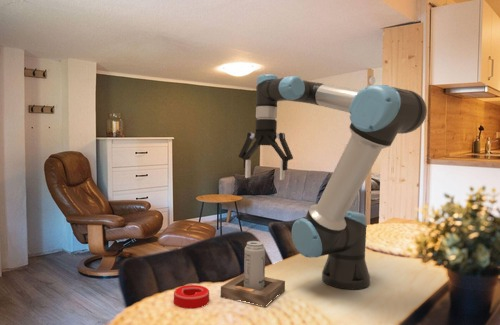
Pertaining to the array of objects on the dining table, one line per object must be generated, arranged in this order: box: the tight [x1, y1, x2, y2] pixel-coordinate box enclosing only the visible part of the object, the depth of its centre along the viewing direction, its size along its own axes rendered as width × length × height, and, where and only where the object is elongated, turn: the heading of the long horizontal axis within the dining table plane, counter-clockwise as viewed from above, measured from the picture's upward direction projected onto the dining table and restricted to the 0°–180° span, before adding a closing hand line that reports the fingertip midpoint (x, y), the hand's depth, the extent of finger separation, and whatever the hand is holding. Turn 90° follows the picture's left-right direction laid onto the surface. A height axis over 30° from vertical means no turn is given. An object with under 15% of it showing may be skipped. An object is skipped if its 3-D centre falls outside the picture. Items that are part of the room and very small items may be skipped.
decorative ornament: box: [173, 284, 210, 310], centre depth 105 cm, size 10×10×3 cm
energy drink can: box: [243, 240, 266, 291], centre depth 111 cm, size 6×6×15 cm
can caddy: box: [220, 272, 286, 307], centre depth 111 cm, size 14×14×3 cm
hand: (264, 178), depth 136 cm, fingers open, 13 cm apart
